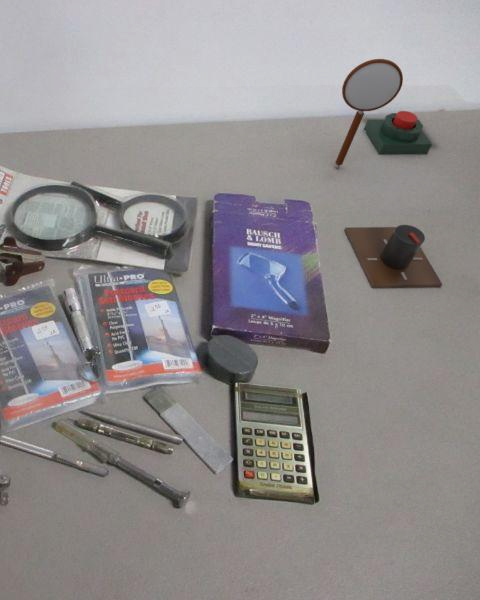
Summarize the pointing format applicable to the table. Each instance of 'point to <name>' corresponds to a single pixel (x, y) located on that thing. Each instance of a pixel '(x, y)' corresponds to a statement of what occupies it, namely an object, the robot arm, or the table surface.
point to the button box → (397, 137)
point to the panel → (379, 274)
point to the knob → (402, 246)
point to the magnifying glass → (368, 93)
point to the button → (405, 120)
